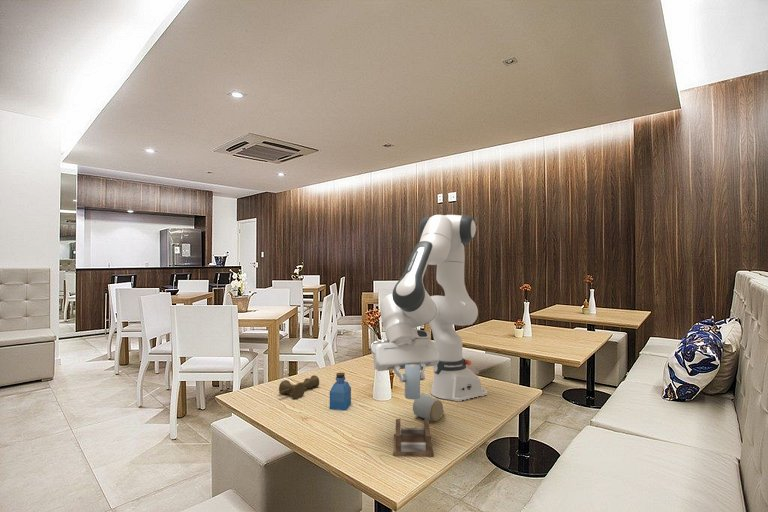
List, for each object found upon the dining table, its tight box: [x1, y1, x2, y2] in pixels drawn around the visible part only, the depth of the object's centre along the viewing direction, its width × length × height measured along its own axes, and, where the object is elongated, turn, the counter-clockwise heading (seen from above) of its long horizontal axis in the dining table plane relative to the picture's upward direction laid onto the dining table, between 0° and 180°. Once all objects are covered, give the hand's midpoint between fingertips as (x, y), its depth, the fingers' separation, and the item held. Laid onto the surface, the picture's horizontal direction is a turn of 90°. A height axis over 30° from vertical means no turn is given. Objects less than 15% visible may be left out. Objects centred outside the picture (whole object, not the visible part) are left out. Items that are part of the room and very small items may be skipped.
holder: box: [392, 418, 435, 457], centre depth 109 cm, size 11×11×6 cm
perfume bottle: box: [329, 372, 352, 411], centre depth 140 cm, size 6×6×12 cm
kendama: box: [278, 375, 320, 400], centre depth 154 cm, size 6×10×20 cm
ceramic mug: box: [412, 392, 445, 423], centre depth 130 cm, size 11×8×8 cm
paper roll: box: [404, 363, 421, 401], centre depth 110 cm, size 4×4×9 cm
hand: (413, 380), depth 109 cm, fingers closed on paper roll, 4 cm apart
